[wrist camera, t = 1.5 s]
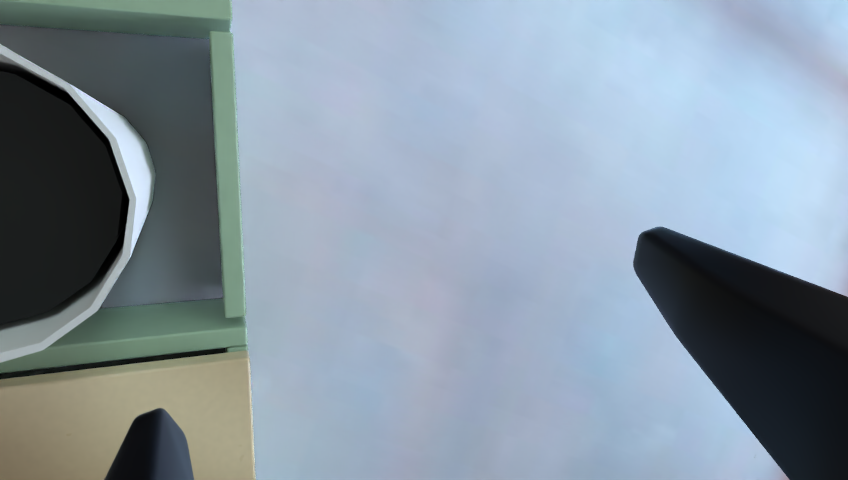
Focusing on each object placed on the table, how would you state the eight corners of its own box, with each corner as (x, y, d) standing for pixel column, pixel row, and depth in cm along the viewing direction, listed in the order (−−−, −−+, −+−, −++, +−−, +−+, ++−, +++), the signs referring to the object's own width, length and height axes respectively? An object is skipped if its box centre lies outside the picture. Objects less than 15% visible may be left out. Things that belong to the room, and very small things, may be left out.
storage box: (253, 556, 25) (261, 629, 21) (-63, 633, 21) (-122, 739, 17) (227, 21, 21) (231, -4, 17) (-171, -12, 17) (-279, -54, 13)
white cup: (83, 301, 21) (-18, 433, 11) (-100, 180, 18) (-420, 224, 9) (207, 170, 21) (206, 196, 12) (48, 36, 19) (-105, -59, 10)
